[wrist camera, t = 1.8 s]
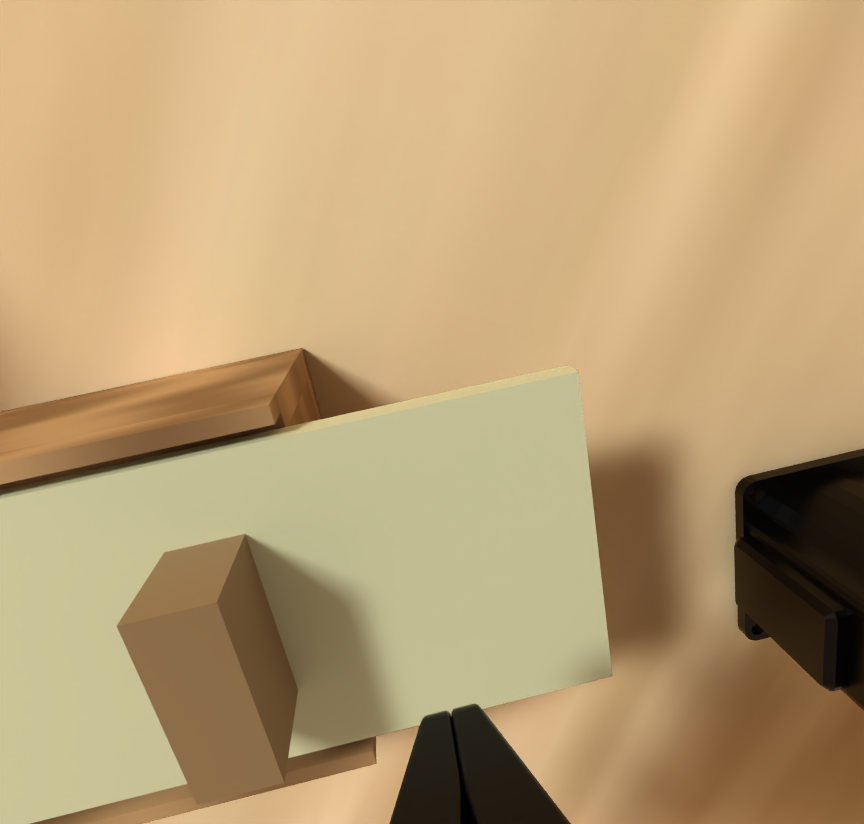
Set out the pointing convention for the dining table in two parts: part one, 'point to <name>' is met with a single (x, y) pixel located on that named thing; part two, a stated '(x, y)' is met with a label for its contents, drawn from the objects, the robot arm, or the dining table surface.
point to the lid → (293, 594)
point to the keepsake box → (154, 435)
